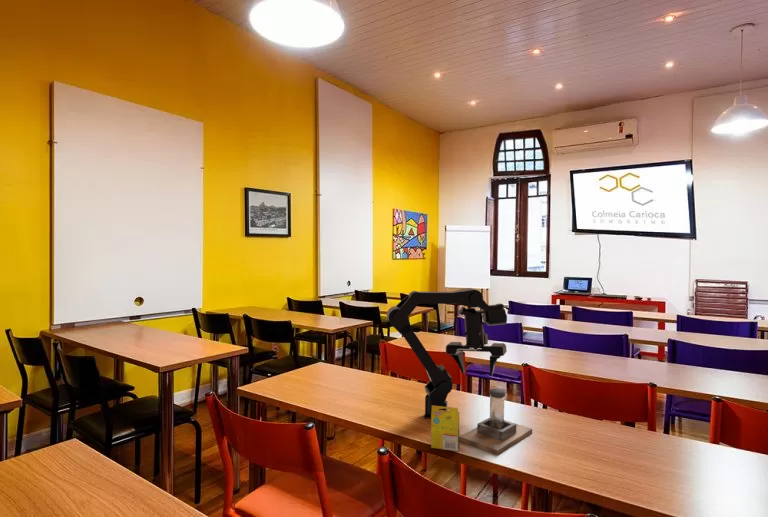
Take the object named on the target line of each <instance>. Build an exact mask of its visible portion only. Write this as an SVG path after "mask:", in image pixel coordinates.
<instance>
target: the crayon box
mask: <svg viewBox="0 0 768 517" xmlns="http://www.w3.org/2000/svg"><path fill="white" fill-rule="evenodd" d="M444 408H445V409H447V411H446V410H439V409H444ZM458 410H459V408H458V407H451V406H447V407H443V406H433V405H432V410H431V411H432V412H431V418H430V420H431V422H430V427H431V428H430V430H431V431H430V438H431V439H430V442H431V443H430V448H431V449H439V450H444V451H446V450H447V451H453V452H456V453H457V452H459V448H460V441H459V436H460V411H458Z"/></svg>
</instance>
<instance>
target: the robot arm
mask: <svg viewBox="0 0 768 517" xmlns="http://www.w3.org/2000/svg"><path fill="white" fill-rule="evenodd" d="M420 304H421V305H422V304H423V305H424V304H425V305H427V304H429V305H430V304H431V305H433V304H436V305H438V304H440V305H444V304H446V305H449V304H453V305H458V306H461V308H460V309H459V310H458V311H457V314H458V315H460V316H463V317H464V329H465V331H464V336H465V343H466V344H463V343H462V342H461V341H450V342H449V343H448V344H446V346H445V354H446V355H449V357H452V358H453V360H454V361H455V362H456V364H457V366H458V368H459V370H460V372H461V374H462V375H465V370H466V369H465V362H464V352H480V353H483V352H484V353H485V352H486V353H489V354H490V356H489V374H490V377H493V374H494V372H495V367H496V363H497V362H498V359H500V358H501V357H503V356H504V355H505V354H506V353H507V352H508V351H507V350H508V349H507V345H506V344H505V343H504V342H502V343H501V342H493V343H492V344H491V345H489V343H488V342H489V334H488V333H485V329H484V324H486V326H487V327H489V326H501V325H506V324H507V322H508V315H507V312H506V309H505V308H504V307H505V306H504V304H503V303H501V302H500V303H495V304H488V303H487V302H486V301H485V300H484V296H483V293H482V292H481V291H480V290H479V289H475V288H473V287H467V288H466V287H465V288H462V289H457V290H456V289H455V290H453V291H417V290H412V291H411V292H409V294H408V295H406V297H404V298H403V299H402V300H400V301H399V303H397V305H394V306H391V307H390V308H389V309H388V310H387V312H386V318H387V321H388V323H389V324H390V325H391V326H392V327H393V328H394V329H395V330H396V331H397V332H398V333H399V334H400V335H401V336H402V337H403V338H404V340H405V341H406V343H407V344H408V346H409V347H410V348H411V350H412V351H413V353H414V354H415V356H416V357H417V359H418V360H419V361H420V363H421V364H422V367H423V368H425V369H424V370H425V371H426V373H427V376H428V378H429V382H428V383H427V384H425V385H424V390H425V396H424V400H425V401H424V414H423V418H425V419H431V412H432V411H431V410H432V405H433V406H443V407H448V400H447V397H448V395H449V394H450V393H451V392H452V390H453V386H454V383H453V381H452V380H453V377H452V376H451V375H450V374H449V373H448V371H447V369H446V368H445V367H444V365H443V364H442V363H441V364H440V365H437V364H436V363H435V361H434V359H433V358H432V357H431V355H430V354H429V352H428V351H427V350H426V348H425V346H424V345H423V343H422V342H421V341H420V339H419V338H418V336H417V334H416V333H415V331H414V330H413V328H412V326H411V322H410V320H409V318H408V317H409V316H410V315H411V314H412V313H413V312H414V310H415V309H416V308H417V307H418V305H420ZM467 307H468V308H467ZM476 308H478V309H479V310H478V309H476ZM439 410H446V411H448V410H447V409H445V408H444V409H439Z"/></svg>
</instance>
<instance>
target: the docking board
mask: <svg viewBox="0 0 768 517" xmlns="http://www.w3.org/2000/svg"><path fill="white" fill-rule="evenodd" d="M532 434H533V428H532V427H528V426H524V425H522V424H518V423H515V422H512V421H508V420H506V419H504V429H502V430H499V429H496V428H493V427H490V417H488V418H486V419H484V420H482V421H480V422H478V423H477V425H476V427H475V428H473V429H471V430H469V431H467V432H465V433H464V434H462V435H459V442H462V443H465V444H467V445H469V446H472V447H475V448H477V449H480V450H483V451H486V452H489V453H490V454H491V453H492V454H494V455H496V456H498V455H500V454H502V453H503V452H504V451H506V450H507V449H509V448H511V447H512V446H514V445H515V444H517V443H519V442H520V441H522V440H524V439H525V438H527V437H528V436H530V435H532Z"/></svg>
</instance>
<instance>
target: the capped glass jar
mask: <svg viewBox="0 0 768 517" xmlns="http://www.w3.org/2000/svg"><path fill="white" fill-rule="evenodd" d="M505 396H506V391H505V390H504V389H501V388H491V389H489V418H490V427H493V428H496V429H499V430H502V429H504V420H505Z"/></svg>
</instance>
